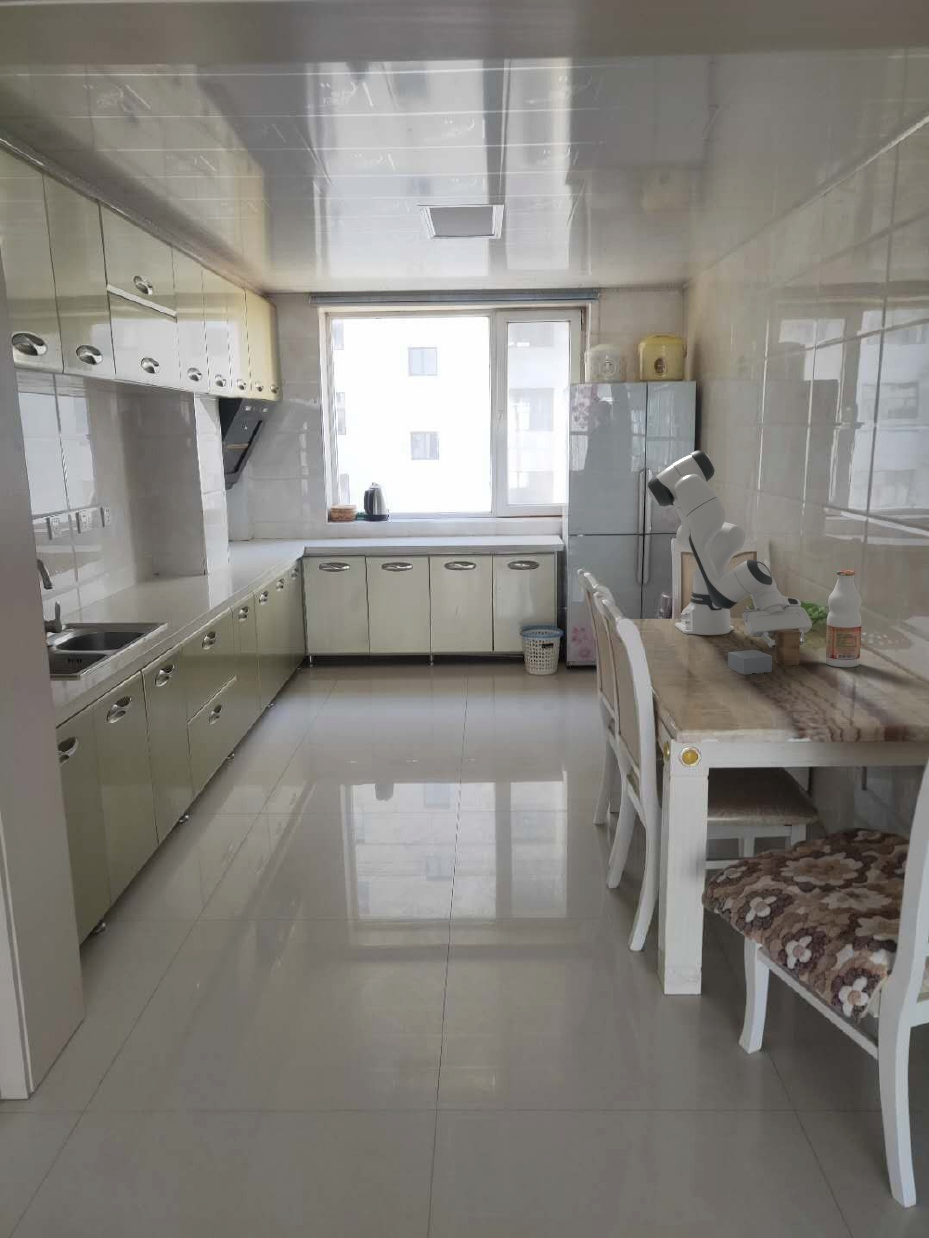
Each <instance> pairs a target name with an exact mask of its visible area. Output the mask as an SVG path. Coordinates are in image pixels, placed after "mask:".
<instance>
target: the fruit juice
mask: <svg viewBox="0 0 929 1238" xmlns="http://www.w3.org/2000/svg"><path fill="white" fill-rule="evenodd" d="M855 576H856V571H855V570H853V569H839V570H837V571H836V577H837V579H836V583H835V585H834V588H833V590H832V592H831V593H830V594H829V596H828V600H827V601H828V602H827V603H828V607H829V612H828V614H827V618H826V636H825V637H826V641H825V643H826V644H825V663H826V664H827V665H828V666H831V667H836V668H854V667H858V666H859V665H860V661H861V644H862V643H861V641H862V614H861V611H860V610H861V607H862V604H863V601H862V599H863V598H862V596H861V594H860V593H859V592H858V591H859V590H858V589H857V587H856V582H855Z"/></svg>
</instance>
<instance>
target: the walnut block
mask: <svg viewBox="0 0 929 1238" xmlns="http://www.w3.org/2000/svg"><path fill="white" fill-rule="evenodd" d="M774 636H775V638H774V640H775V643H776V646H775V647H774V663H776V664H778V663H779V664H778V665H781V666H793V665H794V666H796V665H797V666H798V665H800V646H801V645H800V632H799V631H796V630H793V629H786V630H777V631H776V634H775V635H774Z"/></svg>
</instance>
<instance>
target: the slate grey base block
mask: <svg viewBox="0 0 929 1238" xmlns="http://www.w3.org/2000/svg"><path fill="white" fill-rule="evenodd" d="M727 668H728V669H729V670H732V669H733V671H734V670H735V672H737V673H739V674H741V675H743V674H744V675H753V674H752V673H756V674H765V673H771V672H772V670H773V669H772V668H773V655H772V654H768V653H766V652H763V651H760V650H757V649H749V650H746V649H745V650H738V651H728V652H727ZM764 672H765V673H764ZM744 675H743V676H744Z"/></svg>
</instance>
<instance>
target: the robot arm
mask: <svg viewBox="0 0 929 1238" xmlns="http://www.w3.org/2000/svg"><path fill="white" fill-rule="evenodd" d="M714 465H715V464H714V462H713V459H712V458H711V457H710V456H709V455H708V454H707V453H705V452H704V451H703V450H699V449H698V450H695V451H692V452H689V453H688V455H686V456H684V457H681V458H680V459H678V460H676V461H674V462H673V463H671V464H670V465H669V466H668V467H666V468H665V469H663V470H662V471H661V472H659V473H658V474H657V475H654V476H653V477H652V478H651V479H649V481H648V482H647V489H648V495H649V497H650V499H651V500H652V502H654V503H655V504H656V505H658V507H659V506H660V507H668V506H672V507H674V510H675V511H676V513H677V515H678V517H679V519H680V526H678V529H677V531H676V542H677V545H678V546H679V547H680V548H681V549H683V550H686V551H690V552H692V554H693V557H694V559H695V562H696V564H697V566H696V567H695V568H694V571H693V580H692V581H693V582H692V584H693V586H692V588H693V589H692V592H691V594H690V601H689V603H688V605H686V607H684V608H683V610H682V612H681V613H680V614H679V618H680V620H681V621H679V622H675V623H674V627H675V628H677V629H678V630H679V631H680V632H682V633H683V634H686V635H698V636H699V635H701V636H718V635H725V634H729V633H731V631H733V630H735V627H734V625H732V621H731V610H730V609H731V608H733V607H734V606H736V605H737V604H738V603H740V602H741V601H743V600H744V599H746V598H748V597H750V598H751V599H752V605H753V607H754V608H750V609H748V608H747V609H745V610H743V611H742V612H741V617H742V619H743V621H744V626H745V629H746V631H747V635H748V636H749V637H751V638H761V640H762V641H764V642H765V643H766V644H767V645H768V647H769V648H770V649H771V648H775V646H776V643H775V639H772V638H771V637H772V636H775V634H776V631H777V630H786V629H793V630H796V631H799V632H800V646H802V645H804V644H805V642H806V641H805V638H804V635H805V634H806V633H808V632H809V631H810V630H811V629H812V626H813V621H812V619H811V617H810V615H809V613H808V612H807V611H806V609H805V608H804V607H802V606H801V605H802V602H801V600H800V599H798V598H794V597H793V598H792V597H790V596H789V597H788V596H785V595H782V592H781V591H780V590H779V589H778V587H777V583H776V581H775V578H774V577H773V574H772V573H771V570H770V569H769V568H768V566H767V565H766V564H765V563H764V562H763V561H761V560H756V559H747V560H744V561H743V562H741V563H739V564H737V566H734V568H732V569H730V570H729V571H728V568H729V565H730V562H731V560H732V559H733V557H734V556H735V555H736V554H737V553H739V552H740V551H741V550H742V548H743V547H744V545H745V541H746V535H745V532H744V529H743V528H742V527H741V526H739V525H737V524H734V523H730V522H725V521H726V509H725V507H724V505H723V503H722V501H721V500H720V498H719V497H718V496H717V494H716V492H715V491H714V490H713V488H712V487H711V486H710V485H709V484H708V483H707V482H708V481H709V480H711V479H712V478H713V477H714V476H715V466H714Z"/></svg>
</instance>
